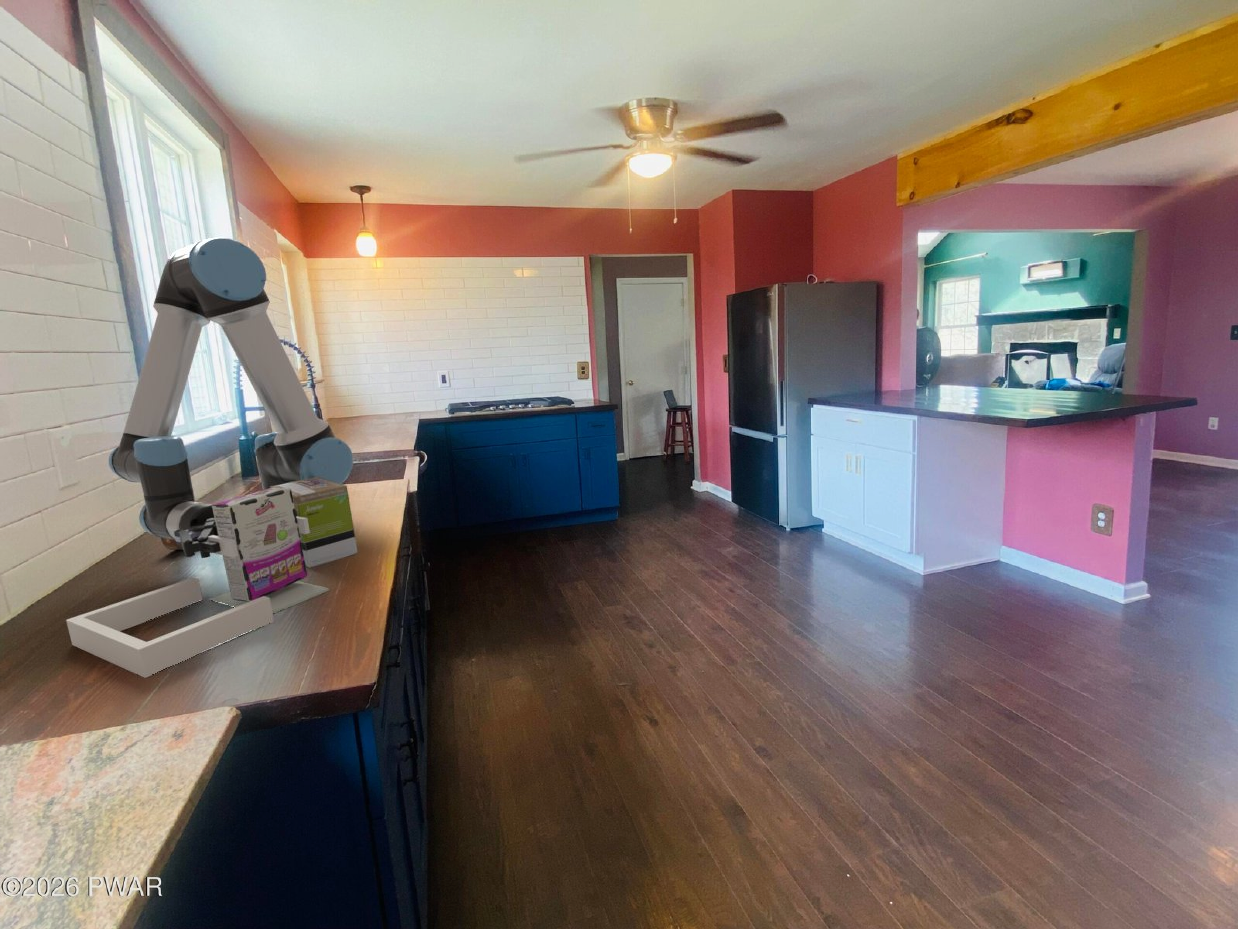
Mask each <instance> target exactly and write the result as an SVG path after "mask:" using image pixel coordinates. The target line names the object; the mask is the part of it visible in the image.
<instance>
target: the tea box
mask: <svg viewBox="0 0 1238 929" xmlns="http://www.w3.org/2000/svg"><path fill="white" fill-rule="evenodd" d="M274 487H277V488H291V491H292V496H293V502H294V507H295V510H296V511H297V516H298V517H304V518H307V519H308V525H309V530H310V533H308V534H302V533H299V534H300V539H301V544H302V549H303V555H304V560H305V565H306V568H308V569H310V568H314V567H317V566H321V565H323V564H327V563H330V562H334V561H337V560H342V559H344V558H347V557H350V556H353V555H356V554H358V547H357V546H358V545H357V539H356V534H355V528H354V527H355V526H354V523H353V521H354V520H353V516H352V510H351V503H350V495H349V491H348V486H347V485H345V484H343V483H342V484H339V483H336V482H333V481H330V480H326V479H323V478H320V477H314V478H309V479H305V480H299V481H294V482H290V483H285V484H281V485H276V486H270V488H274Z"/></svg>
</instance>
